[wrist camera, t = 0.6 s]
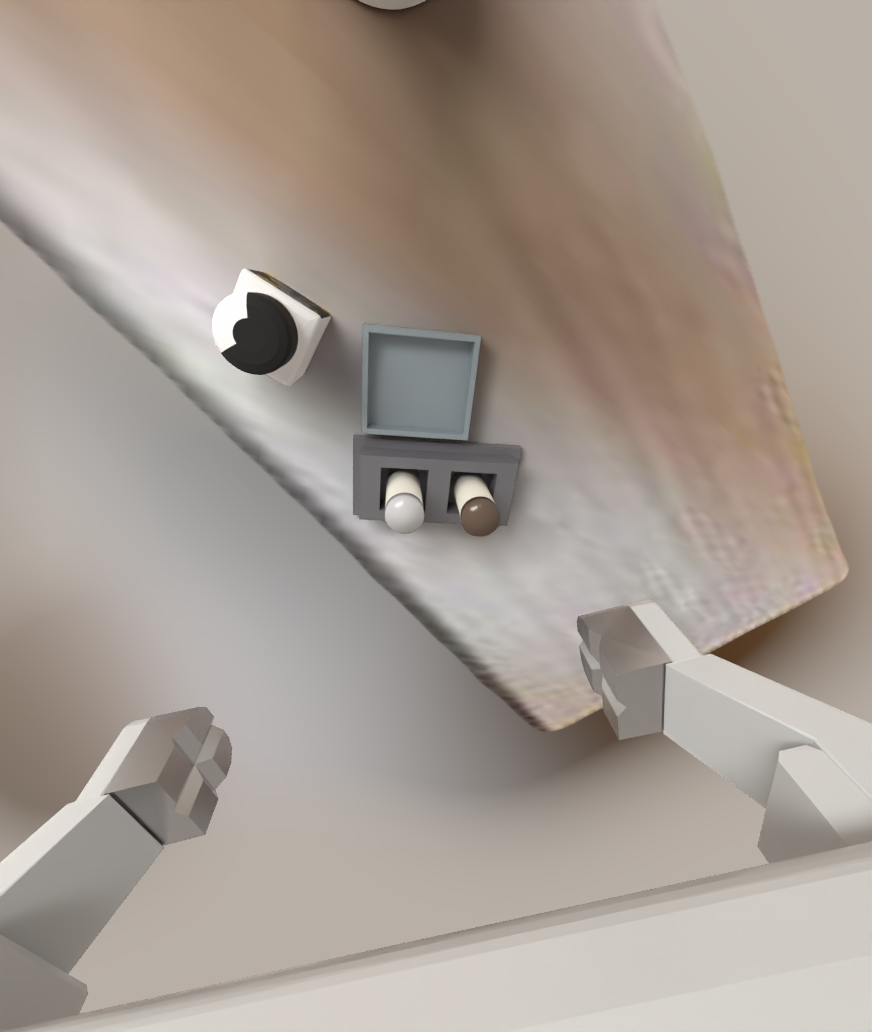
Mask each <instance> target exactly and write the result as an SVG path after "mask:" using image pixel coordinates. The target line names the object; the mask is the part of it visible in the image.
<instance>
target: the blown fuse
mask: <svg viewBox="0 0 872 1032" xmlns="http://www.w3.org/2000/svg"><path fill="white" fill-rule="evenodd" d="M452 490H453V493H454V496H455V500H456V503H457V507H458V510H459V513H460V517H461V520H462V523H463V527H464V529H465V530H466V531H467V532H468V533H469V534H471V535H474V536H486V535H489V534H491V533H492V532H493V531H495V530H496V528H497V527H498V525H499V523H500V513H499V511H498V508H497V506H496V504H495V502H494V500H493V498H492V496H491V494H490V492H489V490H488V488H487V486H486V484H485V482H484V480H483V477H482V476H481V474H480V473H472V472H458V473H457V474H456V475H455V476H454V478H453V480H452Z"/></svg>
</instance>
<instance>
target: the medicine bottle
mask: <svg viewBox="0 0 872 1032" xmlns="http://www.w3.org/2000/svg"><path fill="white" fill-rule="evenodd" d="M330 319H331V314H330V313H329V312H327V311H326V310H324V309H323V308H321V307H320V306H318V305H317V304H315V303H313V302H312V301H310V300H309V299H307V298H306V297H304V296H303V295H301V294H299V293H298V292H296V291H295V290H293V289H292V288H290V287H288V286H287V285H285V284H284V283H282V282H281V281H279V280H278V279H276V278H274V277H273V276H271V275H270V274H268V273H264V272H259V271H254V270H249V269H243V270H242V271H241V273H240V276H239V279H238V281H237V284H236V287H235V289H234V292H233V294H231V295H229V296H228V297H226V298H225V299H223V300H222V301H221V302H220V303H219V305H218V306H217V308H216V310H215V312H214V315H213V319H212V332H213V337H214V340H215V346H216V347H218V349H219V351H220V352H221V354H222V355H223V356H224V357H225V359H226V360H227V361H228V362H229V363H231V364H232V365H233V366H235V367H236V368H238V369H240V370H242V371H244V372H247V373H250V374H257V375H262V374H266V375H267V376H269V377H271V378H273V379H275V380H276V381H278V382H280V383H282V384H283V385H285V386H290V385H292V384H293V383H294V382H295V381H297V380H298V379H299V378H300V377H301V376H303V375H304V374H305V371H306V369H307V367H308V365H309V363H310V361H311V359H312V357H313V355H314V352H315V350H316V348H317V346H318V344H319V342H320V340H321V338H322V336H323V333H324V331H325V329H326V327H327V325H328V323H329V321H330Z"/></svg>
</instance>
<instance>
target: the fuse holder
mask: <svg viewBox="0 0 872 1032" xmlns="http://www.w3.org/2000/svg"><path fill="white" fill-rule="evenodd" d="M521 450H522V448H521V447H520V446H515V445H499V444H484V443H468V442H453V441H438V440H422V439H407V438H391V437H376V436H360V435H354V437H353V515H360V519H364V520H385V504H386V484H387V476H388V474H389V472H390V471H391V470H392V469H393V468H401V469H415V470H416V472H417V473H418V475H419V479H420V487H421V494H422V502H423V509H424V521H423V522H436V523H460V524H463V523H462V520H461V517H460V513H459V510H458V507H457V503H456V500H455V496H454V493H453V490H452V480H453V478H454V476H455V475H456V474H457V473H458V472H472V473H480V474H481V476H482V477H483V480H484V482H485V484H486V486H487V488H488V490H489V492H490V494H491V496H492V498H493V500H494V502H495V504H496V506H497V508H498V511H499V513H500V523H499V525H507V523H508V518H509V512H510V507H511V502H512V497H513V492H514V486H515V481H516V476H517V471H518V466H519V460H520V455H521Z"/></svg>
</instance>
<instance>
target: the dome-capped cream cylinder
mask: <svg viewBox="0 0 872 1032" xmlns="http://www.w3.org/2000/svg"><path fill="white" fill-rule="evenodd" d="M385 520H386V523H387V525H388V526H389V527H390V528H391V529H392V530H393V531H395V532H398V533H403V534H405V533H411V532H414V531H416V530H417V529H418V528H419V527H420V526H421V525H422V523H423V521H424V509H423V502H422V494H421V487H420V479H419V475H418V473H417V472H416V470H415V469H401V468H393V469H392V470H391V471H390V472H389V474H388V476H387V484H386V504H385Z"/></svg>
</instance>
